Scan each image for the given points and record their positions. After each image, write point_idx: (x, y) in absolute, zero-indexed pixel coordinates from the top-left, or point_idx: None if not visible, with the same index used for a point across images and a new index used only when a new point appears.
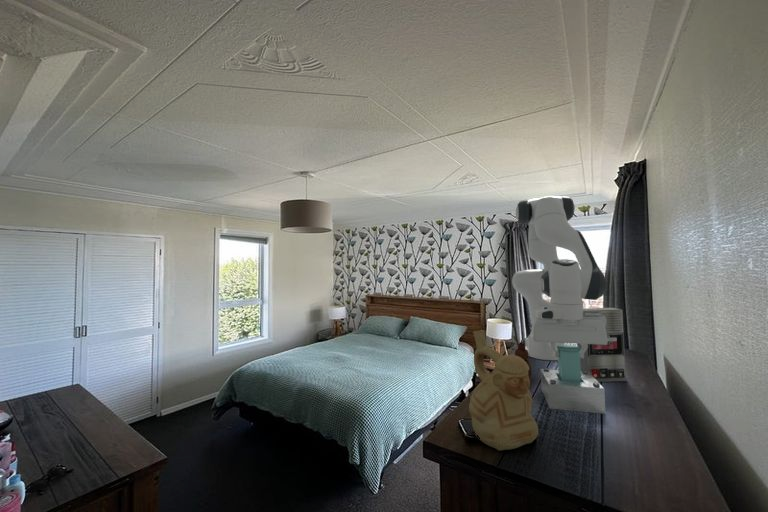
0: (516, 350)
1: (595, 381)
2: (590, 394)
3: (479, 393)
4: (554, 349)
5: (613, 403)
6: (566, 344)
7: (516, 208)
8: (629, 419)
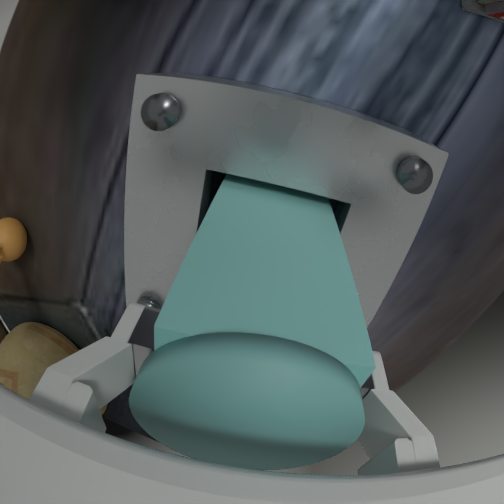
0: None
1: (372, 300)
2: None
3: None
4: (109, 390)
5: (423, 222)
6: (283, 372)
7: None
8: (376, 322)
